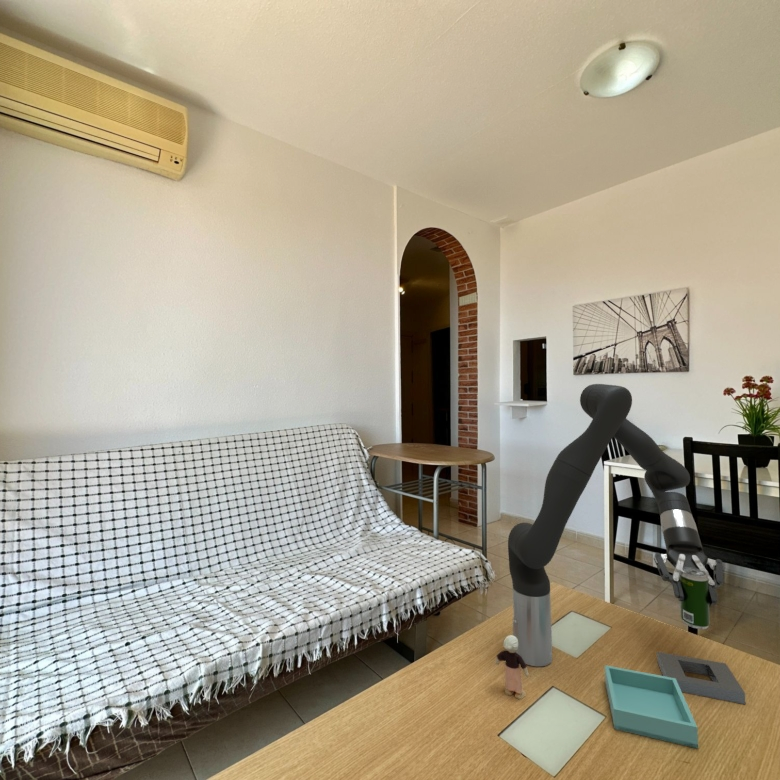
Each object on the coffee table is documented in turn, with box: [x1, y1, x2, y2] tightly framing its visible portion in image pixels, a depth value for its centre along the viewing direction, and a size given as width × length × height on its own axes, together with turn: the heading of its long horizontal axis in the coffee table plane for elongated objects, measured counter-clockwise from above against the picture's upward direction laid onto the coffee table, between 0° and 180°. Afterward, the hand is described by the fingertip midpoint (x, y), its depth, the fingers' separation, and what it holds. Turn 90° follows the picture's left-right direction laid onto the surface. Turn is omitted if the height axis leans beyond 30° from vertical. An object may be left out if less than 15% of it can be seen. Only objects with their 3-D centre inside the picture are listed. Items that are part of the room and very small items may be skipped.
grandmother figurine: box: [494, 634, 530, 700], centre depth 93 cm, size 8×4×13 cm, turn 65°
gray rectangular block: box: [656, 651, 746, 705], centre depth 95 cm, size 14×10×2 cm
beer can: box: [679, 567, 711, 630], centre depth 95 cm, size 5×5×12 cm
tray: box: [604, 664, 699, 749], centre depth 86 cm, size 14×14×4 cm
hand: (697, 601), depth 93 cm, fingers closed on beer can, 5 cm apart
